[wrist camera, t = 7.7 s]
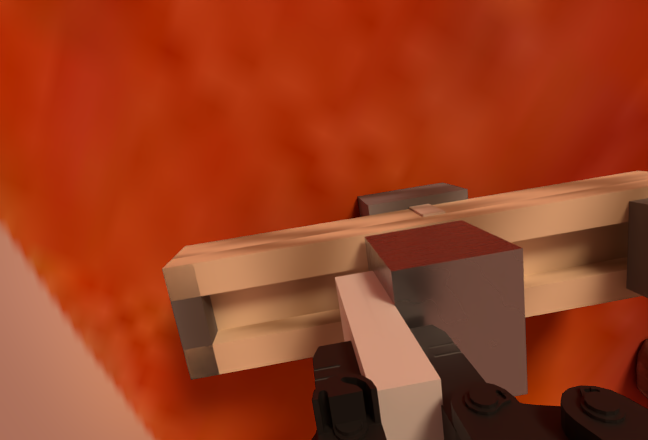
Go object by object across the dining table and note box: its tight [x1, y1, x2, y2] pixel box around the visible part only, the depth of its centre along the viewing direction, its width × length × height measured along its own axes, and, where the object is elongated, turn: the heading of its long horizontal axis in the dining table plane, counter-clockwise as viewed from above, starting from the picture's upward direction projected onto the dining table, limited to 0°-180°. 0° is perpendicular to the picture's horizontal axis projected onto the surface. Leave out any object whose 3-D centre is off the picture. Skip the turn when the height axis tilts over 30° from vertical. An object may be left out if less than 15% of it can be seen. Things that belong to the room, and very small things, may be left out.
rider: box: [364, 220, 528, 396], centre depth 14 cm, size 4×5×5 cm
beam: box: [162, 171, 648, 380], centre depth 17 cm, size 23×6×9 cm, turn 99°
